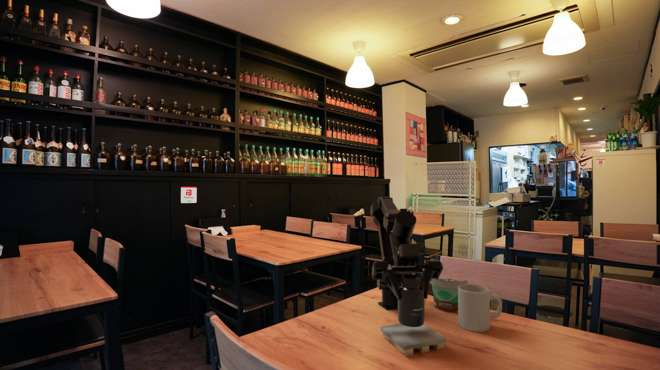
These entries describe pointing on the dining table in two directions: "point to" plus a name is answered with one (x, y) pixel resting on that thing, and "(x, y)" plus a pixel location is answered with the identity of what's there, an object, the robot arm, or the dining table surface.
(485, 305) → the mug
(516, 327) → the dining table surface
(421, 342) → the plate
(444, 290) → the food container
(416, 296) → the supplement bottle
